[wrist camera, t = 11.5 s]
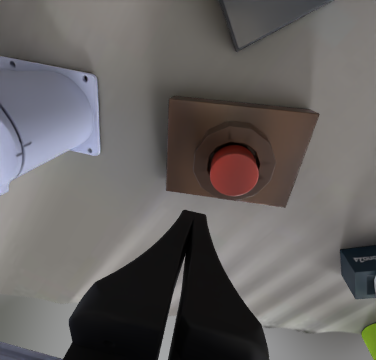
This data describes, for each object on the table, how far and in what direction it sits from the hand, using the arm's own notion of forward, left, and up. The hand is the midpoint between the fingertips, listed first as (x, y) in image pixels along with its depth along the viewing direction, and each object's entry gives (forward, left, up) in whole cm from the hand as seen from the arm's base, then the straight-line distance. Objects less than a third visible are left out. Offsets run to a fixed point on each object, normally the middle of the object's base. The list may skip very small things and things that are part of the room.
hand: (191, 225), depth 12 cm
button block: (+2, +2, -10) cm, 11 cm away
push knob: (+2, +2, -7) cm, 7 cm away
